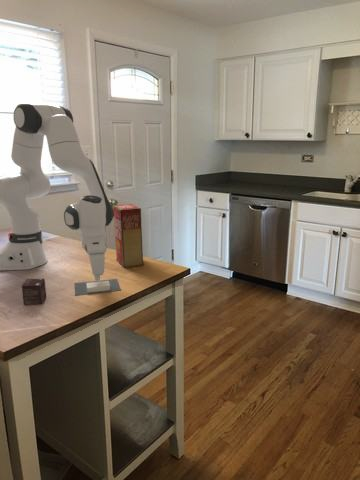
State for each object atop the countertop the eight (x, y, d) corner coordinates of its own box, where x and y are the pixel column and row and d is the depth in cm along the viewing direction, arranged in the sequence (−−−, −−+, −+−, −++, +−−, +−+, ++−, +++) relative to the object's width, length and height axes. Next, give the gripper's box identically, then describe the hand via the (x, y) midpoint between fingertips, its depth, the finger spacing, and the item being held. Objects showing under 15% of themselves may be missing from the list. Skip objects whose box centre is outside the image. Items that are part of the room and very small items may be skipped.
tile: (86, 287, 141) (87, 292, 137) (86, 282, 141) (87, 287, 136) (108, 285, 143) (110, 290, 139) (108, 280, 143) (109, 285, 138)
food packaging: (115, 259, 175) (112, 204, 168) (135, 256, 178) (133, 203, 172) (123, 268, 163) (120, 209, 157) (144, 265, 167) (142, 208, 160)
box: (29, 298, 133) (26, 278, 131) (46, 298, 133) (44, 278, 132) (23, 306, 127) (21, 285, 125) (42, 305, 128) (40, 284, 126)
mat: (75, 296, 135) (75, 295, 135) (74, 284, 146) (74, 283, 146) (121, 291, 139) (121, 290, 139) (117, 279, 150) (116, 278, 150)
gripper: (84, 235, 145) (86, 270, 149) (87, 250, 126) (90, 290, 130) (101, 234, 147) (103, 269, 151) (106, 249, 128) (109, 287, 132)
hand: (97, 279), depth 140 cm, fingers closed
